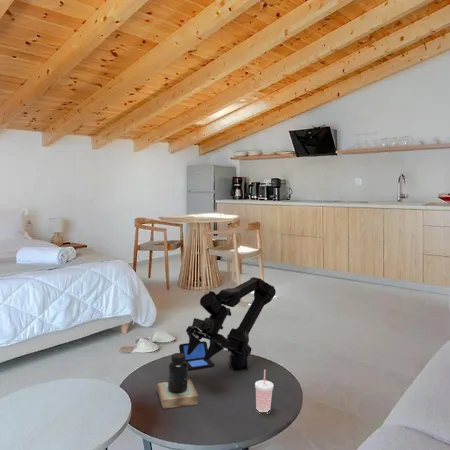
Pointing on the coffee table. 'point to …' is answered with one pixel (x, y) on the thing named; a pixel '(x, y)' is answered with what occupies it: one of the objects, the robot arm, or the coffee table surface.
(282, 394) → the coffee table surface
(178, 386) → the supplement bottle
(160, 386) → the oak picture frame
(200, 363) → the handheld game console
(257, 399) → the beverage cup
